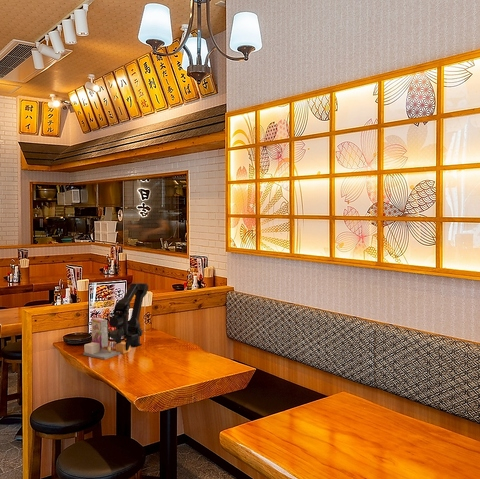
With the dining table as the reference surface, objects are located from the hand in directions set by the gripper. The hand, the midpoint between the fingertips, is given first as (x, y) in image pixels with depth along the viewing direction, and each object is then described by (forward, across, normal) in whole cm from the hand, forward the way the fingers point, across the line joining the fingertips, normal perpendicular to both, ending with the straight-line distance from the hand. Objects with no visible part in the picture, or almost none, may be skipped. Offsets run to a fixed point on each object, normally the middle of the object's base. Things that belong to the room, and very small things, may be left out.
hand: (123, 349), depth 292 cm
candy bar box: (+1, -22, +2) cm, 22 cm away
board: (+1, -6, -10) cm, 12 cm away
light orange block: (+1, 0, 0) cm, 1 cm away
